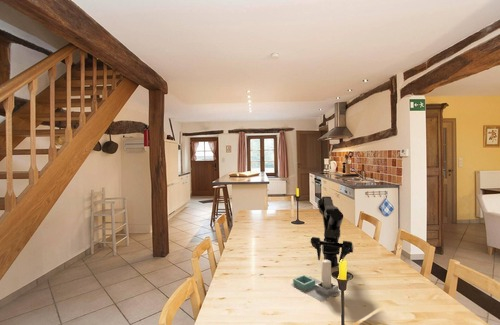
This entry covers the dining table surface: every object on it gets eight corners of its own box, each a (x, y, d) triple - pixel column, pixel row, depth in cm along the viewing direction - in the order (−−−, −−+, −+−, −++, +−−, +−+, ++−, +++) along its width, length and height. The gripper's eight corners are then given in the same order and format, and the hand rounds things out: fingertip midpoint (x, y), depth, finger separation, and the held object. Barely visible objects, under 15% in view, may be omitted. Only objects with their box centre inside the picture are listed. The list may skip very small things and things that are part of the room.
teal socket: (293, 284, 121) (293, 278, 121) (304, 279, 125) (303, 274, 125) (304, 290, 116) (304, 284, 116) (315, 285, 120) (315, 280, 119)
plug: (319, 290, 115) (319, 261, 115) (326, 287, 118) (325, 258, 117) (327, 294, 112) (326, 264, 112) (333, 291, 114) (332, 261, 114)
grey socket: (315, 290, 116) (315, 284, 116) (325, 285, 120) (325, 279, 120) (327, 296, 110) (327, 290, 110) (338, 291, 114) (338, 285, 114)
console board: (290, 286, 121) (290, 284, 121) (310, 277, 129) (310, 276, 129) (321, 303, 107) (321, 301, 107) (341, 293, 114) (341, 291, 114)
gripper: (311, 220, 128) (304, 250, 118) (352, 224, 119) (348, 257, 109) (315, 232, 135) (310, 261, 125) (354, 236, 126) (351, 268, 116)
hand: (329, 261), depth 119 cm, fingers open, 9 cm apart
